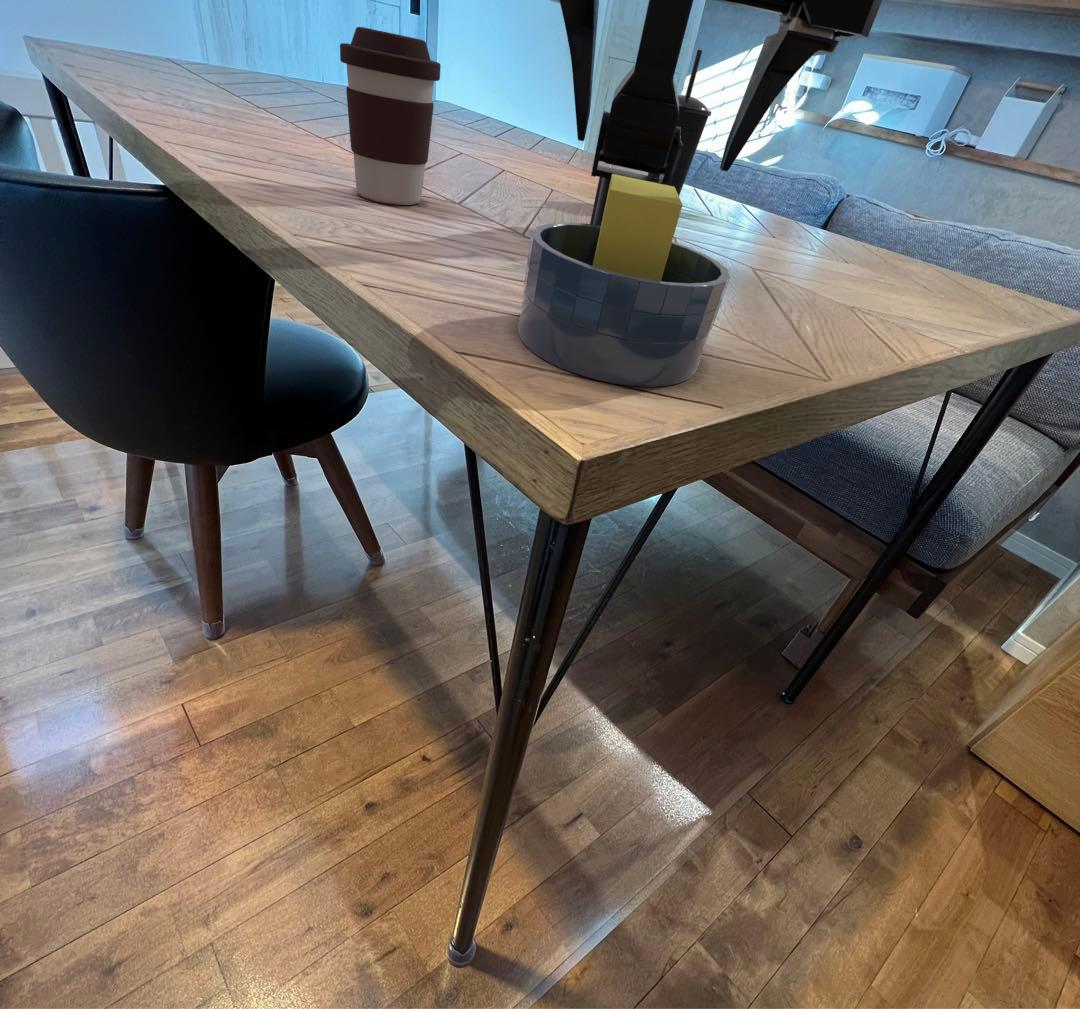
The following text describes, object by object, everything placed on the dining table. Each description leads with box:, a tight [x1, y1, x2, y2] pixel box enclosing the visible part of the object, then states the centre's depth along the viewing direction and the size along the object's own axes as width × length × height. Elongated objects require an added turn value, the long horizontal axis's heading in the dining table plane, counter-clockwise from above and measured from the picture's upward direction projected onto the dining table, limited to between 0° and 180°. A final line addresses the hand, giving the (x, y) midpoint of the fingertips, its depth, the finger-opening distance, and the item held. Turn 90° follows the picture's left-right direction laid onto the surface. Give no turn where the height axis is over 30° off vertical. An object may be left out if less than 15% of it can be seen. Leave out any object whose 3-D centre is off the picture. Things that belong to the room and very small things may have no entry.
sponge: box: [592, 174, 683, 281], centre depth 40 cm, size 7×4×7 cm, turn 173°
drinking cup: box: [647, 49, 712, 197], centre depth 85 cm, size 8×8×20 cm
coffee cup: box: [339, 26, 442, 206], centre depth 63 cm, size 10×10×15 cm
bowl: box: [517, 222, 731, 388], centre depth 41 cm, size 13×13×6 cm
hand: (652, 155), depth 37 cm, fingers open, 9 cm apart
